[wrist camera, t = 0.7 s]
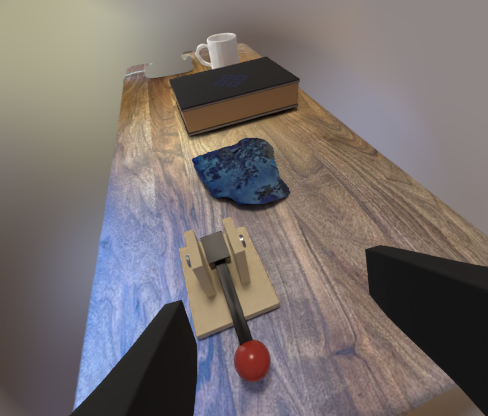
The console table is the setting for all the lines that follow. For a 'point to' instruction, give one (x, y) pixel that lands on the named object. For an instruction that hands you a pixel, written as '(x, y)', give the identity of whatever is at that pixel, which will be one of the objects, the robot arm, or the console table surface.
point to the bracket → (209, 287)
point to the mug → (220, 50)
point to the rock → (242, 172)
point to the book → (234, 94)
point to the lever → (236, 313)
